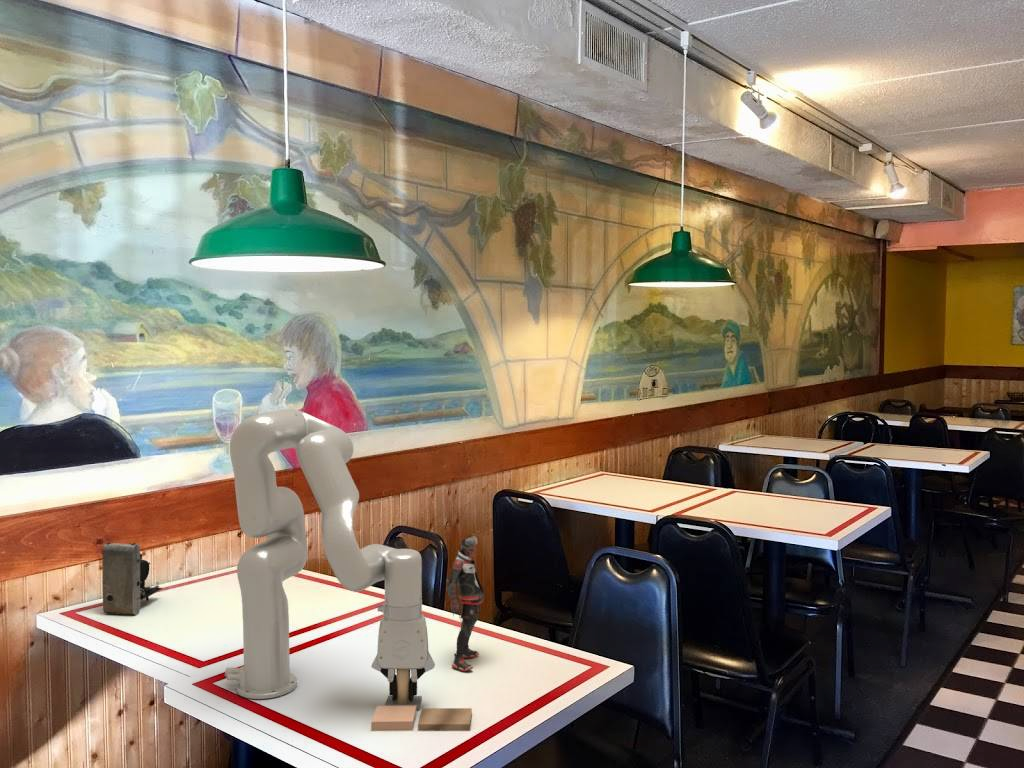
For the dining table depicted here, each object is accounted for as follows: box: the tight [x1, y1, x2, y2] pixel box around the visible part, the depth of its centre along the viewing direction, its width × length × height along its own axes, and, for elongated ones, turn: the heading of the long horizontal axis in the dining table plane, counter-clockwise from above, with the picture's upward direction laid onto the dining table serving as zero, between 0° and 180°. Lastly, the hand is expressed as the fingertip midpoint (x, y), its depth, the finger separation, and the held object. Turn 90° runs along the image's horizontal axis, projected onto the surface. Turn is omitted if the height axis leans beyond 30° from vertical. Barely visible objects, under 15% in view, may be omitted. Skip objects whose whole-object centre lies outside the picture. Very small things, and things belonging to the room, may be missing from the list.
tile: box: [370, 705, 418, 732], centre depth 165 cm, size 2×7×8 cm
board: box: [417, 707, 473, 731], centre depth 165 cm, size 10×7×1 cm
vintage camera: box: [101, 541, 163, 616], centre depth 236 cm, size 10×16×20 cm, turn 172°
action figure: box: [445, 536, 486, 672], centre depth 194 cm, size 10×11×30 cm
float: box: [384, 669, 423, 711], centre depth 172 cm, size 7×5×8 cm
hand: (403, 697), depth 172 cm, fingers closed on float, 2 cm apart
